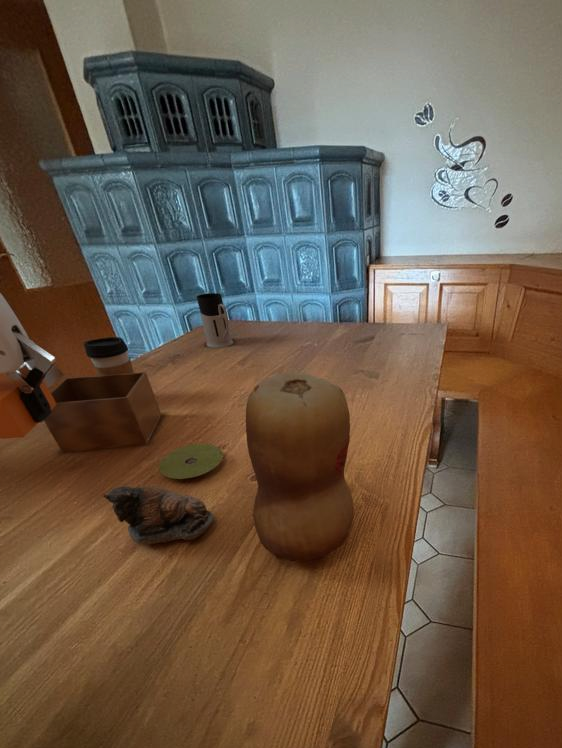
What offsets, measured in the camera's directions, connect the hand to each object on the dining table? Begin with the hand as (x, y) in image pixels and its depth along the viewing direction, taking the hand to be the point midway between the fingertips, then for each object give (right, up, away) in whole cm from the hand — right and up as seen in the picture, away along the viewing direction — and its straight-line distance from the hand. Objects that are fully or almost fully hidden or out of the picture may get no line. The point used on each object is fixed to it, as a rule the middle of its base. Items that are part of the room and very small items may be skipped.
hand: (19, 418), depth 50 cm
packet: (0, 0, 0) cm, 0 cm away
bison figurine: (+17, -17, +8) cm, 25 cm away
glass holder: (-1, +37, +78) cm, 86 cm away
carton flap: (-17, +13, +23) cm, 31 cm away
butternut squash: (+37, -17, +7) cm, 41 cm away
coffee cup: (-13, +11, +45) cm, 48 cm away
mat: (+13, -6, +22) cm, 26 cm away
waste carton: (-8, +2, +33) cm, 34 cm away
